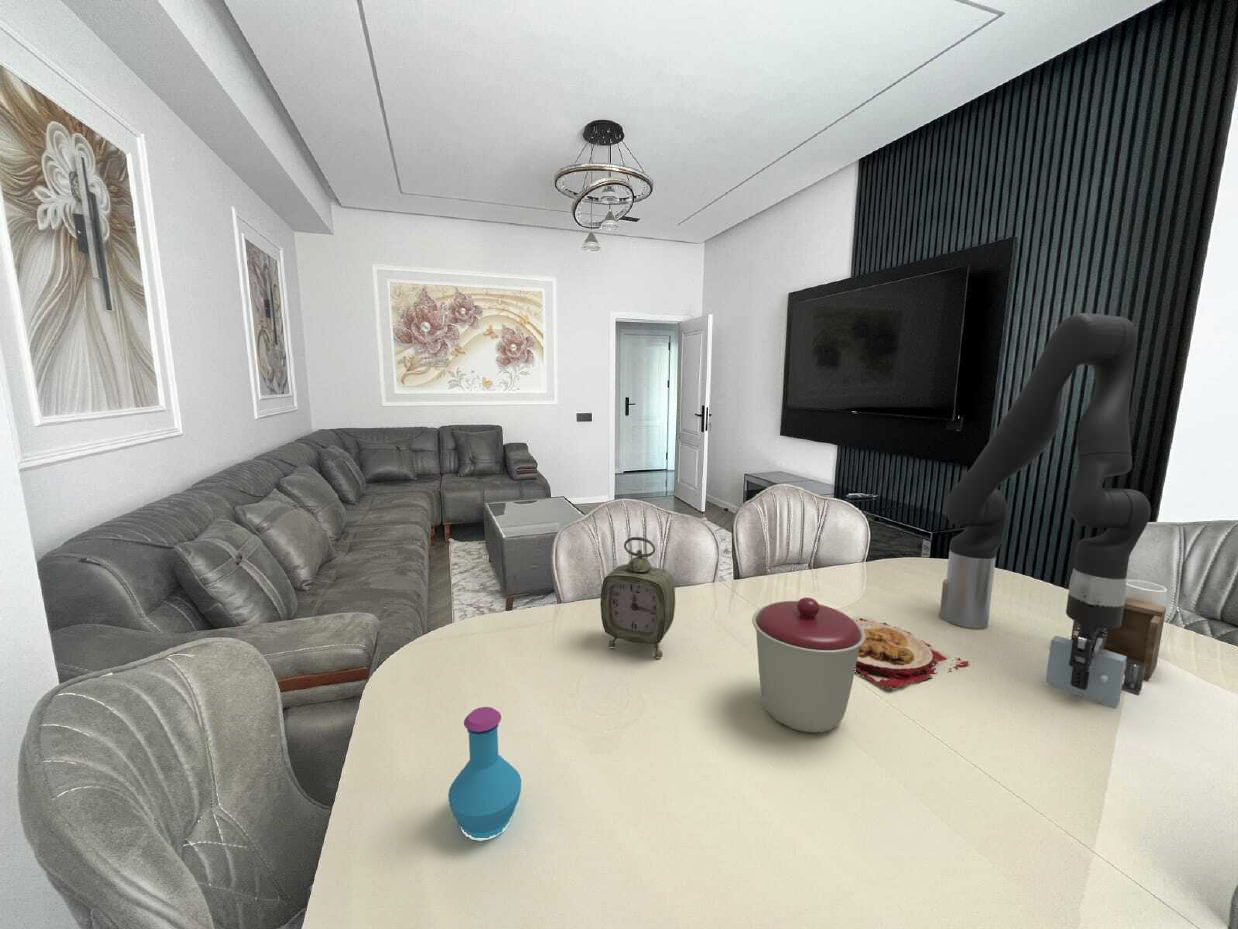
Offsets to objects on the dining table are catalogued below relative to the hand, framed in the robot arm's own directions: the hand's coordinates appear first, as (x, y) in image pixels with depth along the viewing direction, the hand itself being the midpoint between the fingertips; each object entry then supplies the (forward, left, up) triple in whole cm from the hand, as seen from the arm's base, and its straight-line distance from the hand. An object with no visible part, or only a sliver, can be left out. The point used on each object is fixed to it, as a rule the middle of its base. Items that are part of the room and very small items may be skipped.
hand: (1084, 680), depth 96 cm
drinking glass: (+3, +30, -3) cm, 30 cm away
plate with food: (-32, -14, -3) cm, 35 cm away
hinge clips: (+1, +10, -2) cm, 10 cm away
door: (0, 0, -3) cm, 3 cm away
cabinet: (+1, +20, -2) cm, 20 cm away
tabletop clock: (-63, -55, -3) cm, 84 cm away
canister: (-28, -47, -3) cm, 55 cm away
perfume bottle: (-40, -100, -3) cm, 108 cm away
